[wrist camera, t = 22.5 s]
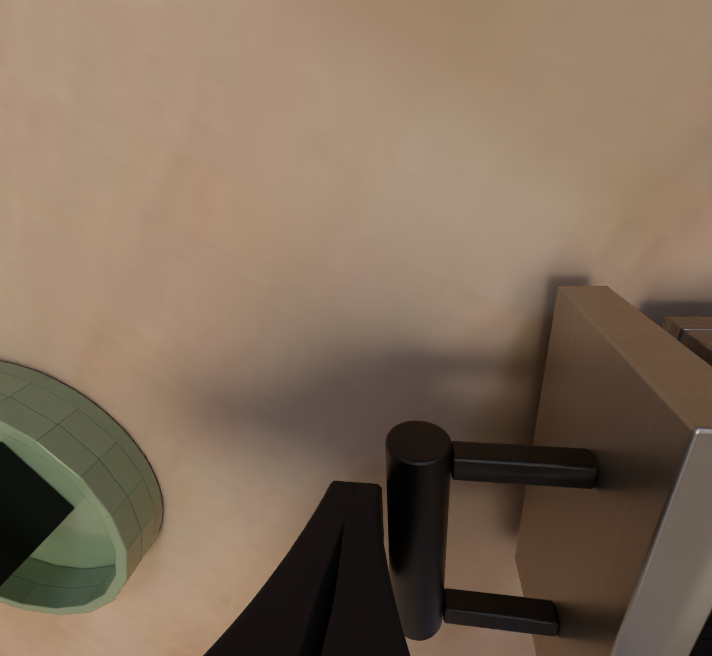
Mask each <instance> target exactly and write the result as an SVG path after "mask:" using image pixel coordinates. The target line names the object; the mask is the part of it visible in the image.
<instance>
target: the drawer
mask: <svg viewBox="0 0 712 656" xmlns="http://www.w3.org/2000/svg"><path fill="white" fill-rule="evenodd" d="M385 446H386V478H387V509H388V540H389V571H390V580H391V584H392V589H393V593H394V597H395V601H396V605H397V610H398V613H399V617H400V621H401V625H402V629H403V632H404V636H405V637H407V638H409V639H412V640H417V641H422V640H426V639H429V638H431V637H432V636H434V635H435V634H436V633H437V632H438V630H439V629H440V626H441V623H442V618H443V620H444V622H445V623H450V624H457V625H465V626H473V627H481V628H489V629H497V630H505V631H513V632H521V633H529V634H532V636H533V641H534V645H535V650H536V654H537V656H712V317H680V316H667V317H665V319H664V322H663V326H662V328H661V327H660V326H658V325H657V324H656V323H654V322H653V321H652V320H651V319H649V318H648V317H647V316H645V315H644V314H643V313H641V312H640V311H639V310H638V309H636V308H635V307H634V306H632V305H631V304H630V303H628V302H627V301H626V300H625V299H623V298H622V297H621V296H619V295H618V294H617V293H616V292H614V291H613V290H612V289H610V288H609V287H607V286H560V287H558V291H557V297H556V304H555V310H554V316H553V322H552V329H551V335H550V341H549V347H548V354H547V360H546V366H545V372H544V379H543V385H542V391H541V397H540V403H539V410H538V416H537V422H536V428H535V435H534V441H533V445H516V444H498V443H480V442H462V441H452V443H451V440H450V437H449V436H448V434H447V433H446V432H445V431H444V430H443V429H442V428H441V427H439V426H437V425H435V424H433V423H430V422H425V421H407V422H403V423H400V424H398V425H396V426H395V427H393V428H392V429H391V430H390V431H389V433H388V435H387V437H386V441H385ZM450 472H451V477H452V479H454V480H465V481H479V482H493V483H507V484H521V485H526V491H525V497H524V503H523V510H522V516H521V522H520V528H519V535H518V541H517V547H516V553H515V560H516V565H517V569H518V573H519V578H520V582H521V587H522V591H523V596H524V597H518V596H509V595H500V594H491V593H483V592H474V591H465V590H456V589H447V588H445V589H444V581H445V563H446V545H447V527H448V508H449V490H450Z"/></svg>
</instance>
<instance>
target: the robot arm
mask: <svg viewBox="0 0 712 656" xmlns="http://www.w3.org/2000/svg"><path fill="white" fill-rule="evenodd" d="M203 656H410V653H409V650H408V646H407V643H406V639H405V636H404V632H403V629H402V625H401V621H400V617H399V613H398V610H397V605H396V601H395V597H394V593H393V589H392V584H391V580H390V575H389V570H388V564H387V559H386V553H385V548H384V528H383V505H382V487H380V486H379V485H378V484H373V483H359V482H345V481H333V482H332V483H331V484H330V485H329V487H328V489H327V491H326V493H325V495H324V497H323V498H322V500H321V502H320V504H319V505H318V507H317V509H316V510H315V512H314V514H313V515H312V517H311V519H310V520H309V522H308V523H307V525H306V527H305V528H304V530H303V531H302V533H301V534H300V536H299V537H298V539H297V540H296V542H295V543H294V545H293V546H292V548H291V549H290V551H289V552H288V553H287V555H286V556H285V558H284V559H283V560H282V562H281V563H280V564H279V566H278V567H277V568H276V570H275V571H274V572H273V574H272V575H271V576H270V578H269V579H268V581H267V582H266V583H265V585H264V586H263V587H262V588H261V590H260V591H259V592H258V594H257V595H256V596H255V597H254V599H253V600H252V601H251V602H250V603H249V605H248V606H247V607H246V608H245V609H244V611H243V612H242V613H241V614H240V615H239V617H238V618H237V619H236V620H235V621H234V622H233V624H232V625H231V626H230V627H229V628H228V629H227V630H226V632H225V633H224V634H223V635H222V636H221V637H220V638H219V639H218V640H217V641H216V642H215V644H214V645H213V646H212V647H211V648H210V649H209V650H208V651H207V652H206V653H205V654H204V655H203Z"/></svg>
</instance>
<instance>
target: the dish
mask: <svg viewBox="0 0 712 656" xmlns="http://www.w3.org/2000/svg"><path fill="white" fill-rule="evenodd" d="M0 442H2V443H4V444H5V445H6V446H7V447H8V448H9V449H10V450H11V451H12V452H13V453H15V454H16V455H17V456H18V457H19V458H20V459H21V460H22V461H23V462H25V463H26V464H27V465H28V466H29V467H30V468H31V469H32V470H33V471H35V472H36V473H37V474H38V475H39V476H40V477H41V478H42V479H43V480H44V481H46V482H47V483H48V484H49V485H50V486H51V487H52V488H53V489H54V490H56V491H57V492H58V493H59V494H60V495H61V496H62V497H63V498H64V499H66V500H67V501H68V502H69V503H70V504H71V505H72V506H73V507H74V510H73V511H72V512H71V513H70V514H69V515H68V516H67V517H66V518H65V519H64V521H63V522H62V523H61V524H60V525H59V526H58V527H57V528H56V529H55V530H54V531H53V532H52V533H51V534H50V535H49V536H48V537H47V538H46V539H45V540H44V542H43V543H42V544H41V545H40V546H39V547H38V548H37V549H36V550H35V551H34V552H33V553H32V554H31V555H30V556H29V557H28V558H27V559H26V560H25V561H24V563H23V564H22V565H21V566H20V567H19V568H18V569H17V570H16V571H15V572H14V573H13V574H12V575H11V576H10V577H9V578H8V579H7V580H6V581H5V582H4V584H3V585H2V586H1V587H0V602H1V603H4V604H7V605H10V606H13V607H16V608H19V609H22V610H27V611H34V612H41V613H48V614H55V615H68V614H78V613H89V612H92V611H94V610H96V609H98V608H100V607H102V606H104V605H106V604H108V603H110V602H112V601H113V600H115V598H116V597H117V596H118V594H119V593H120V591H121V590H122V588H123V587H124V585H125V584H126V582H127V581H128V579H129V578H130V576H131V575H132V573H133V572H134V570H135V569H136V567H137V566H138V564H139V563H140V561H141V560H142V558H143V557H144V555H145V554H146V552H147V551H148V549H149V548H150V546H151V545H152V543H153V542H154V540H155V538H156V536H157V535H158V533H159V530H160V527H161V523H162V515H163V506H162V497H161V493H160V489H159V486H158V483H157V480H156V478H155V476H154V473H153V471H152V469H151V467H150V465H149V464H148V462H147V460H146V459H145V457H144V455H143V454H142V452H141V451H140V450H139V448H138V447H137V446H136V444H135V443H134V441H133V440H132V439H131V438H130V437H129V436H128V435H127V434H126V432H125V431H124V430H123V429H122V428H121V427H120V426H119V425H118V424H117V423H116V422H115V421H114V420H113V419H112V418H111V417H110V416H108V415H107V414H106V413H105V412H104V411H103V410H101V409H100V408H99V407H98V406H96V405H95V404H94V403H92V402H91V401H90V400H88V399H87V398H85V397H84V396H82V395H81V394H79V393H78V392H76V391H75V390H73V389H72V388H70V387H68V386H66V385H64V384H62V383H61V382H59V381H57V380H55V379H53V378H51V377H49V376H46V375H44V374H42V373H39V372H37V371H35V370H32V369H28V368H25V367H22V366H19V365H16V364H12V363H7V362H2V361H0Z"/></svg>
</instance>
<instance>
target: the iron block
mask: <svg viewBox="0 0 712 656" xmlns="http://www.w3.org/2000/svg"><path fill="white" fill-rule="evenodd" d="M73 510H74V507H73V506H72V505H71V504H70V503H69V502H68V501H67V500H66V499H64V498H63V497H62V496H61V495H60V494H59V493H58V492H57V491H56V490H54V489H53V488H52V487H51V486H50V485H49V484H48V483H47V482H46V481H44V480H43V479H42V478H41V477H40V476H39V475H38V474H37V473H36V472H35V471H33V470H32V469H31V468H30V467H29V466H28V465H27V464H26V463H25V462H23V461H22V460H21V459H20V458H19V457H18V456H17V455H16V454H15V453H13V452H12V451H11V450H10V449H9V448H8V447H7V446H6V445H5V444H4V443H2V442H0V587H1V586H2V585H3V584H4V582H5V581H6V580H7V579H8V578H9V577H10V576H11V575H12V574H13V573H14V572H15V571H16V570H17V569H18V568H19V567H20V566H21V565H22V564H23V563H24V561H25V560H26V559H27V558H28V557H29V556H30V555H31V554H32V553H33V552H34V551H35V550H36V549H37V548H38V547H39V546H40V545H41V544H42V543H43V542H44V540H45V539H46V538H47V537H48V536H49V535H50V534H51V533H52V532H53V531H54V530H55V529H56V528H57V527H58V526H59V525H60V524H61V523H62V522H63V521H64V519H65V518H66V517H67V516H68V515H69V514H70V513H71V512H72V511H73Z"/></svg>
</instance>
